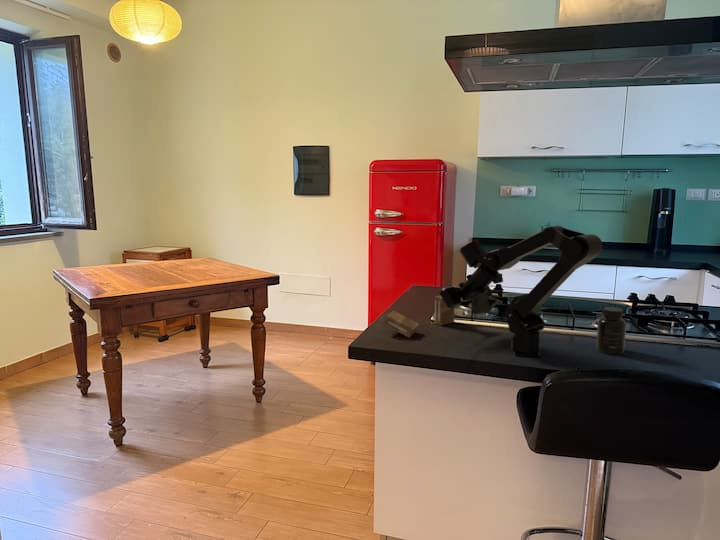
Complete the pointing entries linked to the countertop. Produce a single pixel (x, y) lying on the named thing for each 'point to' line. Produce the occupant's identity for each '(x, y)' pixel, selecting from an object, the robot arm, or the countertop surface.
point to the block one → (401, 324)
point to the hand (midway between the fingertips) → (452, 307)
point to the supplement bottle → (611, 331)
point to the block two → (442, 312)
